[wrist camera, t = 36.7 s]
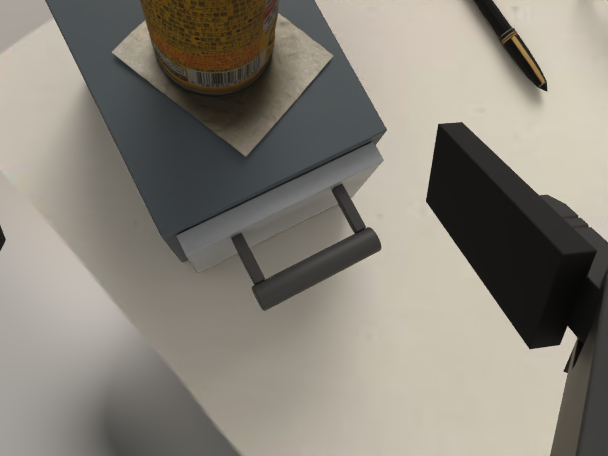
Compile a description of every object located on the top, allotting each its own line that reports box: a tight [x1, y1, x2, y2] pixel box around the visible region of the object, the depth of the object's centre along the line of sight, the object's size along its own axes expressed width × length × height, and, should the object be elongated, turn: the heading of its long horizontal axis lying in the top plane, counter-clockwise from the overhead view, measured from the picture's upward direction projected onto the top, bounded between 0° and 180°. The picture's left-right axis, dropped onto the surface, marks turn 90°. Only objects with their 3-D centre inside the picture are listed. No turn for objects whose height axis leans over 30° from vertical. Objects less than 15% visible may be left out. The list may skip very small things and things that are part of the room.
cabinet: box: [45, 0, 387, 262], centre depth 32 cm, size 15×13×10 cm
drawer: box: [176, 142, 384, 311], centre depth 31 cm, size 18×11×8 cm, turn 28°
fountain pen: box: [474, 0, 547, 91], centre depth 40 cm, size 14×1×2 cm, turn 33°
